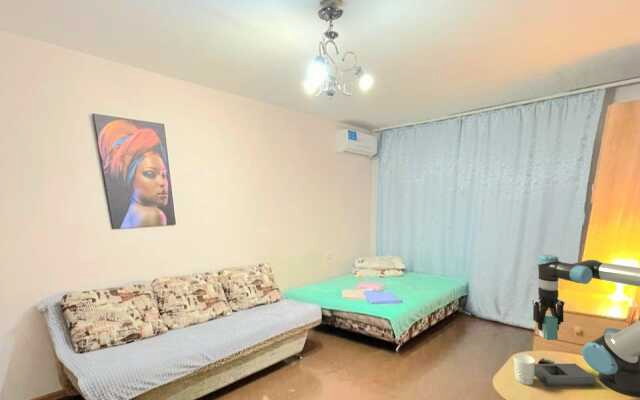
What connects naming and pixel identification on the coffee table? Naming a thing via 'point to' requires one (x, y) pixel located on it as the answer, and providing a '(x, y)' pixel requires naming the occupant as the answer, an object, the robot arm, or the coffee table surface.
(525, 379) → the white cup
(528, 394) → the coffee table surface
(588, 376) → the grey slotted board
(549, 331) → the teal block
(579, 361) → the coffee table surface
